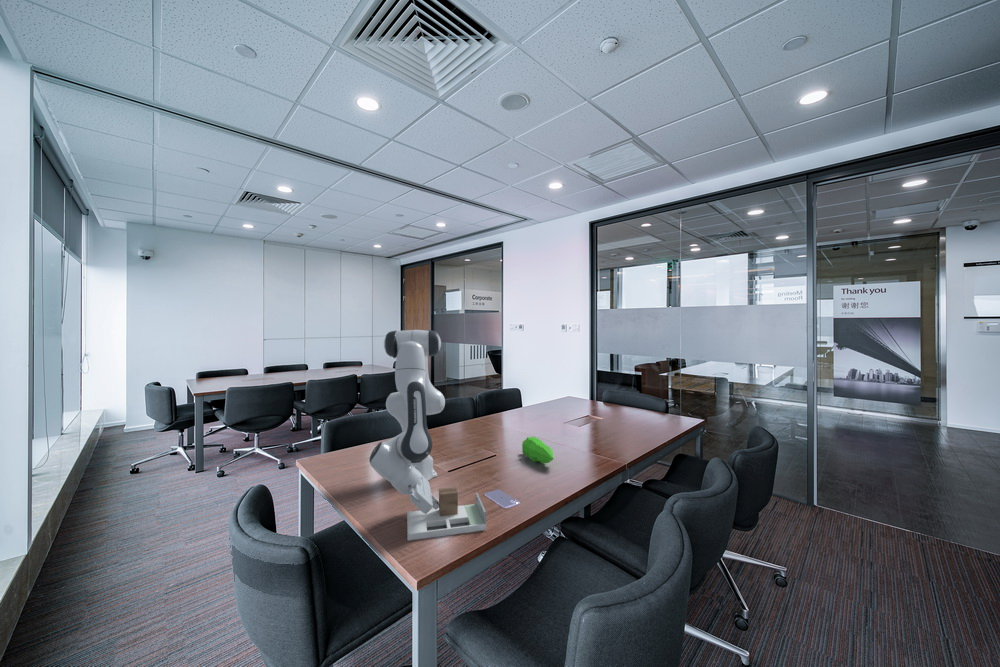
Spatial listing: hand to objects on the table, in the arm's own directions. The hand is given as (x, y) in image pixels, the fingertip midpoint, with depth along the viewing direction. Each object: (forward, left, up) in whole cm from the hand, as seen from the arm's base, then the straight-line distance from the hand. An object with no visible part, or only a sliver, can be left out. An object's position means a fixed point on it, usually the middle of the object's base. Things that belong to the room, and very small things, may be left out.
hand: (437, 506), depth 129 cm
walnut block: (0, +4, -2) cm, 4 cm away
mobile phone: (-10, +25, -5) cm, 28 cm away
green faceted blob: (-46, +54, -5) cm, 71 cm away
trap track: (+4, +2, -4) cm, 6 cm away
